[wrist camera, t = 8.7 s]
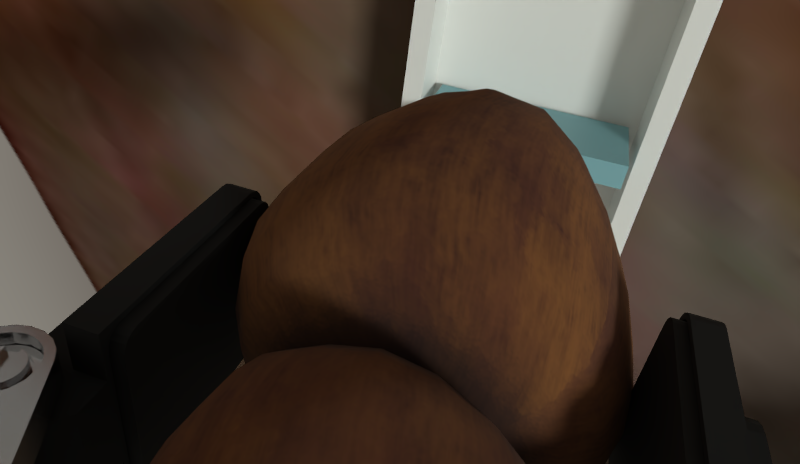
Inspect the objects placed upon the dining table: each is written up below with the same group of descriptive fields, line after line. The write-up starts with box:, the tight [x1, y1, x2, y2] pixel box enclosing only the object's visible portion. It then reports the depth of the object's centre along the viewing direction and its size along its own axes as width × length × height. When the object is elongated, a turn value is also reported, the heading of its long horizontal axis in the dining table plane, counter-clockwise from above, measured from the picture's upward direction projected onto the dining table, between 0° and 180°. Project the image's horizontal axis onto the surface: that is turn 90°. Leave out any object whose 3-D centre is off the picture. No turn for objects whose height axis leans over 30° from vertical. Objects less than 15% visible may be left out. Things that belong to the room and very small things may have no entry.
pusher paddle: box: [435, 84, 629, 189], centre depth 33 cm, size 10×7×5 cm
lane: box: [401, 0, 723, 255], centre depth 34 cm, size 13×26×4 cm, turn 173°
